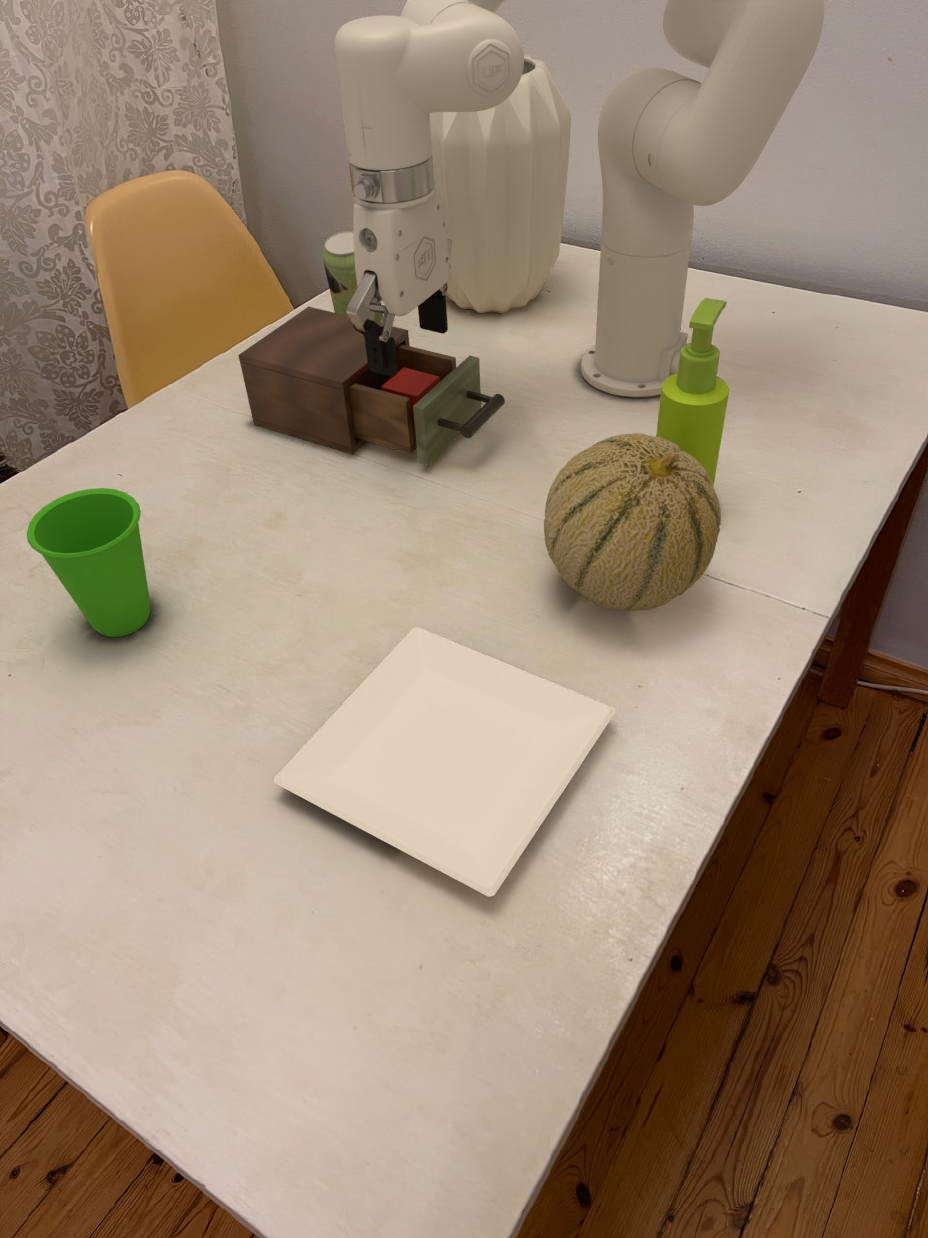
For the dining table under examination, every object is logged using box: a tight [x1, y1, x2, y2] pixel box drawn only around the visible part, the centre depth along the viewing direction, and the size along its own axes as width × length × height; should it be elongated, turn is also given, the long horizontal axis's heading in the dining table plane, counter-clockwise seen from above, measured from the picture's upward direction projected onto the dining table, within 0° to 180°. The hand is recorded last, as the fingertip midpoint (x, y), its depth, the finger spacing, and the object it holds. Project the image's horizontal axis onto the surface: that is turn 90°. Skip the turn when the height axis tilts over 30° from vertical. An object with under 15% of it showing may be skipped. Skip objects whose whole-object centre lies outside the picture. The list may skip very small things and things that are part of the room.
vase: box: [429, 54, 572, 314], centre depth 121 cm, size 20×20×28 cm
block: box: [381, 368, 440, 432], centre depth 103 cm, size 4×4×4 cm
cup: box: [26, 487, 152, 638], centre depth 82 cm, size 9×9×11 cm
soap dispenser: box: [655, 297, 730, 488], centre depth 88 cm, size 6×7×20 cm
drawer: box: [347, 344, 506, 467], centre depth 103 cm, size 17×11×7 cm
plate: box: [272, 626, 617, 898], centre depth 72 cm, size 19×19×2 cm
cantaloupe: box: [543, 432, 722, 612], centre depth 81 cm, size 15×15×15 cm
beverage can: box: [322, 230, 384, 323], centre depth 121 cm, size 6×7×12 cm
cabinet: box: [237, 306, 411, 455], centre depth 107 cm, size 14×13×9 cm
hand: (409, 350), depth 99 cm, fingers open, 9 cm apart
